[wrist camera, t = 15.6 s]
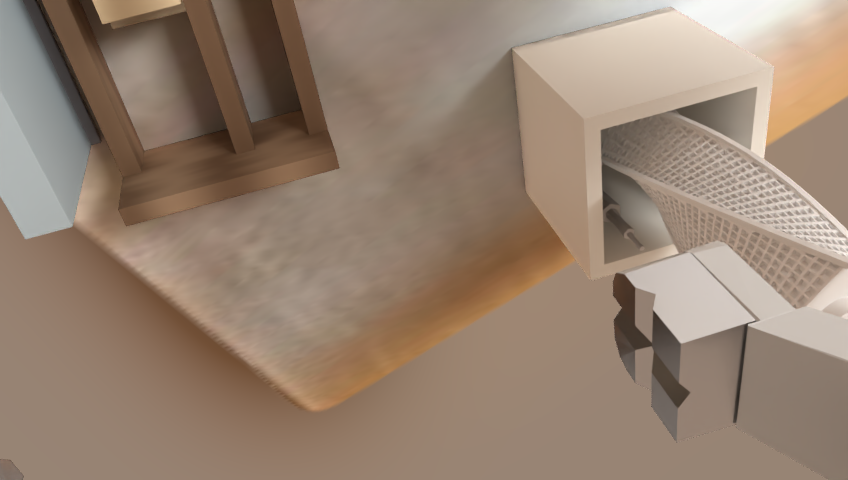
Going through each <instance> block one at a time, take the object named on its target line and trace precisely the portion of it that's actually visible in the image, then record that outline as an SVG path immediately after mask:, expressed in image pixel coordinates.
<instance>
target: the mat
mask: <svg viewBox="0 0 848 480" xmlns="http://www.w3.org/2000/svg"><path fill="white" fill-rule="evenodd" d="M23 2H24V4H25V6H26V8H27V11H28V13H29V15H30V17H31V19H32V21H33V23H34V25H35V27H36V30H37V32H38V34H39V36H40V38H41V40H42V42H43V44H44V46H45V49H46V51H47V53H48V55H49V57H50V59H51V61H52V63H53V65H54V67H55V70H56V72H57V74H58V76H59V78H60V80H61V82H62V84H63V86H64V89H65V91H66V93H67V95H68V97H69V99H70V101H71V103H72V105H73V108H74V110H75V112H76V114H77V116H78V118H79V120H80V122H81V124H82V127H83V129H84V131H85V133H86V135H87V137H88V139H89V141H90V143H91V145H93V144H97V143H101V138H100V136H99V133H98V131H97V129H96V127H95V125H94V123H93V121H92V118H91V116H90V114H89V112H88V110H87V108H86V105H85V103H84V101H83V99H82V97H81V95H80V92H79V90H78V88H77V86H76V84H75V82H74V79H73V77H72V75H71V73H70V71H69V69H68V67H67V64H66V62H65V60H64V58H63V56H62V54H61V51H60V49H59V47H58V45H57V43H56V41H55V38H54V36H53V34H52V32H51V30H50V28H49V25H48V23H47V21H46V19H45V17H44V15H43V13H42V10H41V8H40V6H39V4H38V2H37V0H23Z"/></svg>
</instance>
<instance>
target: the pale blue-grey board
mask: <svg viewBox="0 0 848 480" xmlns="http://www.w3.org/2000/svg"><path fill="white" fill-rule="evenodd" d="M90 148H91V143H90V141H89V139H88V137H87V135H86V133H85V131H84V129H83V127H82V124H81V122H80V120H79V118H78V116H77V114H76V112H75V110H74V108H73V105H72V103H71V101H70V99H69V97H68V95H67V93H66V91H65V89H64V86H63V84H62V82H61V80H60V78H59V76H58V74H57V72H56V70H55V67H54V65H53V63H52V61H51V59H50V57H49V55H48V53H47V51H46V49H45V46H44V44H43V42H42V40H41V38H40V36H39V34H38V32H37V30H36V27H35V25H34V23H33V21H32V19H31V17H30V15H29V13H28V11H27V8H26V6H25V4H24V2H23V0H0V197H1V198H2V200H3V202H4V204H5V205H6V207H7V209H8V211H9V212H10V214H11V216H12V217H13V219H14V221H15V223H16V224H17V226H18V228H19V230H20V231H21V233H22V235H23V236H24V238H25V239H29V238H33V237H36V236H40V235H43V234H47V233H51V232H55V231H58V230H62V229H65V228H69V227H73V223H74V218H75V214H76V209H77V205H78V201H79V196H80V192H81V187H82V183H83V179H84V174H85V170H86V165H87V161H88V157H89V152H90Z"/></svg>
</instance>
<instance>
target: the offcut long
mask: <svg viewBox="0 0 848 480" xmlns="http://www.w3.org/2000/svg"><path fill="white" fill-rule="evenodd" d="M181 12H186V9H185V6H184V3H183V0H182V2H181V4H179V5H175V6H171V7H167V8H163V9H160V10H156V11H152V12H148V13H144V14H140V15H137V16H133V17H129V18H125V19H121V20H118V21H114V22H110V24H111V26H112V29H116V28H120V27H124V26H129V25H133V24H137V23H141V22H145V21H149V20H153V19H157V18H161V17H165V16H169V15H173V14H177V13H181Z"/></svg>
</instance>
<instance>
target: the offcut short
mask: <svg viewBox="0 0 848 480" xmlns="http://www.w3.org/2000/svg"><path fill="white" fill-rule="evenodd" d="M92 1H93V4H94V6H95V8H96V10H97V13H98V15H99V17H100V20H101V22H102V24H106V23H110V22H114V21H118V20H121V19H125V18H129V17H133V16H137V15H140V14H144V13H148V12H152V11H156V10H160V9H163V8H167V7H171V6H175V5H179V4H181V0H92Z"/></svg>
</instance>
